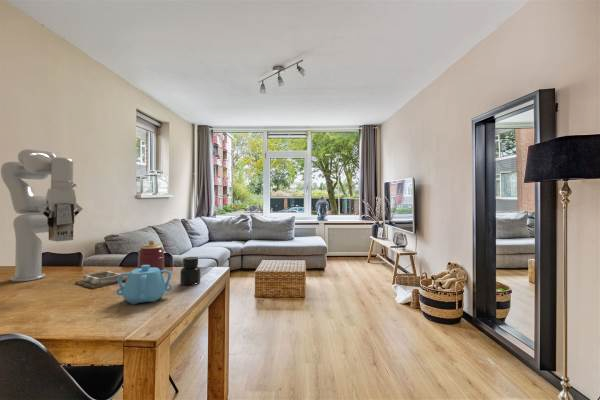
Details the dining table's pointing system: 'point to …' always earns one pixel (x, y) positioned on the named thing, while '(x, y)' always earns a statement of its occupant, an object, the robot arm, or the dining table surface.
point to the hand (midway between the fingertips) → (61, 226)
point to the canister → (151, 255)
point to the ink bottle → (190, 271)
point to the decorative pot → (144, 285)
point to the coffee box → (62, 223)
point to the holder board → (100, 279)
